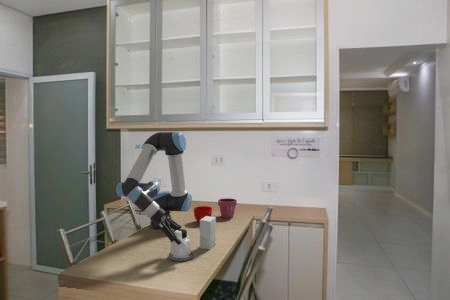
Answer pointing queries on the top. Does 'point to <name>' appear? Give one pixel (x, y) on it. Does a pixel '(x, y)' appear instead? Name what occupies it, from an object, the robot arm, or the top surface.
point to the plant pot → (227, 207)
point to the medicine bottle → (176, 249)
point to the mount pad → (177, 259)
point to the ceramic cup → (202, 212)
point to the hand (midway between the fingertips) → (186, 243)
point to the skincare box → (207, 232)
